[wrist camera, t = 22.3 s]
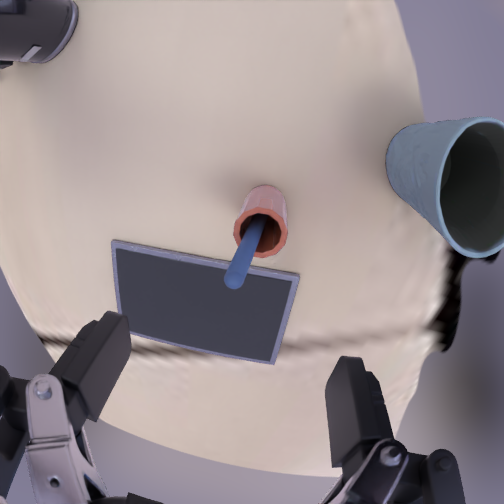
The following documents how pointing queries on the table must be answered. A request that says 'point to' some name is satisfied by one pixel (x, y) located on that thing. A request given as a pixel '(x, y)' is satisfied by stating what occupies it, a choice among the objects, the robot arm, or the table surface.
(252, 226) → the stylus
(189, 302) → the tablet
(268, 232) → the pen pot
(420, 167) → the blue-grey tapered bin
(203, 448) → the table surface
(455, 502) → the robot arm
